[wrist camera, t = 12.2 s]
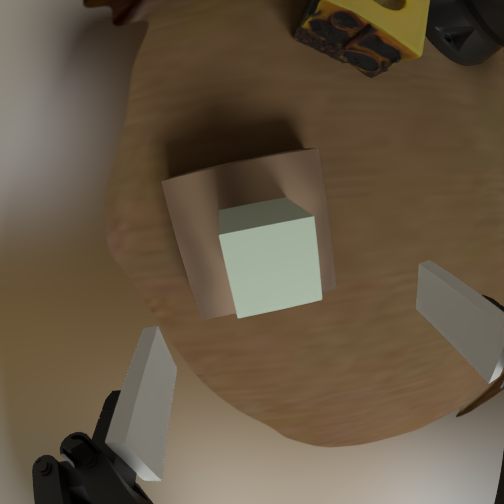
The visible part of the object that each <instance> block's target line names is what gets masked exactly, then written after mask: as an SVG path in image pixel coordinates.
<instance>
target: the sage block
mask: <svg viewBox="0 0 504 504" xmlns="http://www.w3.org/2000/svg"><path fill="white" fill-rule="evenodd" d="M219 239H220V244H221V248H222V253H223V257H224V261H225V266H226V270H227V275H228V279H229V283H230V288H231V292H232V296H233V300H234V304H235V309H236V313H237V317H238V318H242V317H247V316H252V315H257V314H262V313H266V312H271V311H276V310H280V309H285V308H289V307H293V306H298V305H302V304H306V303H310V302H315V301H319V300H322V290H321V278H320V267H319V256H318V246H317V237H316V228H315V220H314V216H313V215H312V214H310V213H309V212H307V211H306V210H304V209H303V208H301V207H300V206H299V205H297V204H296V203H294V202H293V201H291V200H290V199H288V198H287V197H284V198H279V199H273V200H268V201H263V202H257V203H252V204H247V205H242V206H237V207H232V208H227V209H222V210H219Z"/></svg>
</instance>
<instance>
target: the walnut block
mask: <svg viewBox="0 0 504 504" xmlns="http://www.w3.org/2000/svg"><path fill="white" fill-rule="evenodd" d="M161 183H162V187H163V191H164V195H165V199H166V203H167V207H168V211H169V214H170V218H171V222H172V226H173V229H174V233H175V236H176V240H177V243H178V247H179V250H180V254H181V257H182V260H183V264H184V267H185V270H186V274H187V277H188V280H189V283H190V286H191V290H192V293H193V296H194V299H195V302H196V305H197V308H198V311H199V314H200V317H201V320H206V319H210V318H215V317H220V316H225V315H229V314H234V313H236V309H235V304H234V300H233V296H232V292H231V288H230V283H229V279H228V275H227V270H226V266H225V261H224V257H223V253H222V248H221V244H220V239H219V210H222V209H227V208H232V207H237V206H242V205H247V204H252V203H257V202H263V201H268V200H273V199H279V198H284V197H287V198H288V199H290V200H291V201H293V202H294V203H296V204H297V205H299V206H300V207H301V208H303V209H304V210H306V211H307V212H309V213H310V214H312V215H313V216H314V220H315V228H316V237H317V246H318V256H319V267H320V278H321V290H322V292H324V291H328V290H332V289H335V288H336V280H335V268H334V258H333V248H332V239H331V230H330V222H329V214H328V206H327V199H326V192H325V185H324V179H323V172H322V166H321V160H320V154H319V149H318V148H305V149H298V150H292V151H286V152H280V153H275V154H269V155H264V156H259V157H253V158H248V159H244V160H239V161H234V162H229V163H225V164H220V165H216V166H212V167H207V168H203V169H199V170H195V171H191V172H187V173H183V174H179V175H175V176H172V177H169V178H167V179H165V180H163V181H161Z"/></svg>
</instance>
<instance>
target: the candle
mask: <svg viewBox="0 0 504 504" xmlns="http://www.w3.org/2000/svg"><path fill="white" fill-rule="evenodd" d="M429 3H430V0H308V2H307V3H306V6H305V8H304V11H303V12H302V14H303V15H302V17H301V20H300V21H299V23H298V26H297V28H296V30H295V32H294V33H293V37H294V39H295V40H296V41H299V42H301V43H303V44H305V45H308V46H310V47H313V48H314V49H316V50H318V51H320V52H322V53H324V54H326V55H329V56H330V57H332V58H334V59H336V60H338V61H341V62H342V63H346V62H347V63H350V64H351V65H353V66H354V67H355V68H357V69H358V70H360V71H361V72H362V73H363V74H365V75H366V76H368V77H370V78H372V77H375V76H377V75H378V74H380V73H381V72H382V73H383V72H385V71H387V70H388V69H389V68H391V67H392V66H393V65H394V64H396V63H397V62H400V61H408V60H410V59H417V58H419V57H420V56H421V55H422V53H423V47H424V40H425V34H426V25H427V17H428V10H429Z"/></svg>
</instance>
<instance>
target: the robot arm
mask: <svg viewBox="0 0 504 504" xmlns="http://www.w3.org/2000/svg"><path fill="white" fill-rule="evenodd" d="M425 35H426V36H427V37H428V39H429V40H430V41H431V42H432V43H433V45H434V46H435V47H436V48H437V49H438V50H439V51H440V52H441V53H443V54H444V55H445V56H446V57H448V58H449V59H450V60H452V61H454V62H456V63H458V64H460V65H465V66H470V65H475V64H480V63H482V62H484V61H485V60H487V59H488V58H489V57H491V56H492V55H493V54H495V53H496V52H497V51H499V50H500V49H501V48H502V47H504V0H430V3H429V10H428V17H427V25H426V34H425ZM416 309H417V310H418V311H419V312H420V313H421V314H422V315H423V316H424V317H425V318H426V319H427V320H428V321H429V322H430V323H431V324H432V325H433V326H434V327H435V328H436V329H437V330H438V331H439V332H440V333H441V334H442V335H443V336H444V337H445V338H446V339H447V340H448V341H449V342H450V343H451V344H452V345H453V346H454V347H455V348H456V349H457V350H458V351H459V352H460V353H461V354H462V356H463V357H464V358H465V359H466V360H467V361H468V362H469V363H470V364H471V365H472V366H473V367H474V368H475V369H476V370H477V372H478V373H479V374H480V375H481V376H482V377H483V378H484V379H485V380H486V382H487V383H488V384H489V383H491V382H492V381H493V380H495V379H496V378H498V377H499V376H500V374H501V372H502V370H503V367H504V307H503V306H502V305H499V303H498V302H497V301H495V300H494V299H492V298H490V297H487V296H485V295H480V294H479V293H477V292H476V291H475V290H473V289H472V288H470V287H469V286H468V285H466V284H465V283H463V282H462V281H460V280H459V279H457V278H456V277H455V276H453V275H452V274H450V273H449V272H447V271H446V270H444V269H443V268H441V267H440V266H438V265H437V264H435V263H434V262H432V261H430V260H429V261H426V262H423V263H420V264H419V275H418V290H417V302H416ZM176 373H177V367H176V365H175V363H174V361H173V359H172V356H171V354H170V352H169V350H168V348H167V345H166V343H165V341H164V339H163V336H162V334H161V332H160V330H159V327H158V326H155V327H149V328H144V329H143V331H142V334H141V337H140V339H139V342H138V345H137V347H136V350H135V353H134V355H133V358H132V361H131V363H130V366H129V369H128V372H127V375H126V378H125V381H124V384H123V386H122V389H121V390H118V391H112V393H111V394H110V395H109V396H108V397H107V398H106V400H105V403H104V405H103V408H102V411H101V414H100V419H98V422H97V425H96V428H95V431H94V434H93V437H92V440H91V439H90V437H89V436H88V435H87V434H84V433H82V432H75V433H73V434H70V435H69V436H67V437H66V438H65V439H64V440H63V442H62V443H61V447H60V454H61V455H62V457H64V458H65V459H66V460H67V461H63V462H58V461H57V460H56V459H55V458H54V457H53V456H50V455H43V456H41V457H39V458H38V459H37V460H36V461H35V463H34V465H33V470H32V473H33V488H34V499H35V504H153V503H152V501H151V500H150V499H149V498H148V496H147V495H146V494H145V493H144V491H143V490H142V489H141V487H140V486H139V485H138V484H137V483H136V482H135V480H136V474H137V475H138V476H139V477H140V478H142V479H143V480H145V481H162V478H163V468H164V459H165V450H166V442H167V435H168V426H169V419H170V413H171V406H172V398H173V392H174V385H175V379H176ZM503 386H504V379H503V381H502V383H501V386H500V388H503ZM494 504H504V452H503V460H502V467H501V473H500V479H499V484H498V490H497V495H496V499H495V503H494Z"/></svg>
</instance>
